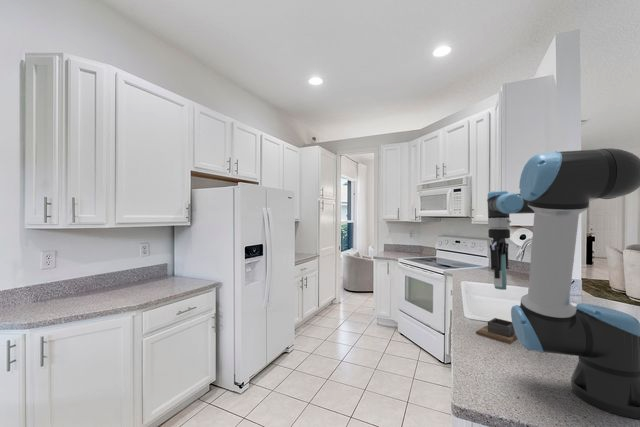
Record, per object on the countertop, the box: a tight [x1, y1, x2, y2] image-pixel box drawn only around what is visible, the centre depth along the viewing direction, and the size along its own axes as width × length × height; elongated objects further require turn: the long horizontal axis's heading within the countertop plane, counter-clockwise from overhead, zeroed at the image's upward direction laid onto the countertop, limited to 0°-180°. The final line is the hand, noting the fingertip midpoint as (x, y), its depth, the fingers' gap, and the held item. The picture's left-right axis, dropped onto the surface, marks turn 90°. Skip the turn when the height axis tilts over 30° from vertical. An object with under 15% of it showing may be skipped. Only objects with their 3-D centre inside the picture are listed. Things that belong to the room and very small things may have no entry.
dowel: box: [494, 254, 507, 291], centre depth 113 cm, size 4×4×14 cm
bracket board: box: [475, 317, 518, 345], centre depth 113 cm, size 14×12×5 cm
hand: (500, 285), depth 113 cm, fingers closed on dowel, 4 cm apart
